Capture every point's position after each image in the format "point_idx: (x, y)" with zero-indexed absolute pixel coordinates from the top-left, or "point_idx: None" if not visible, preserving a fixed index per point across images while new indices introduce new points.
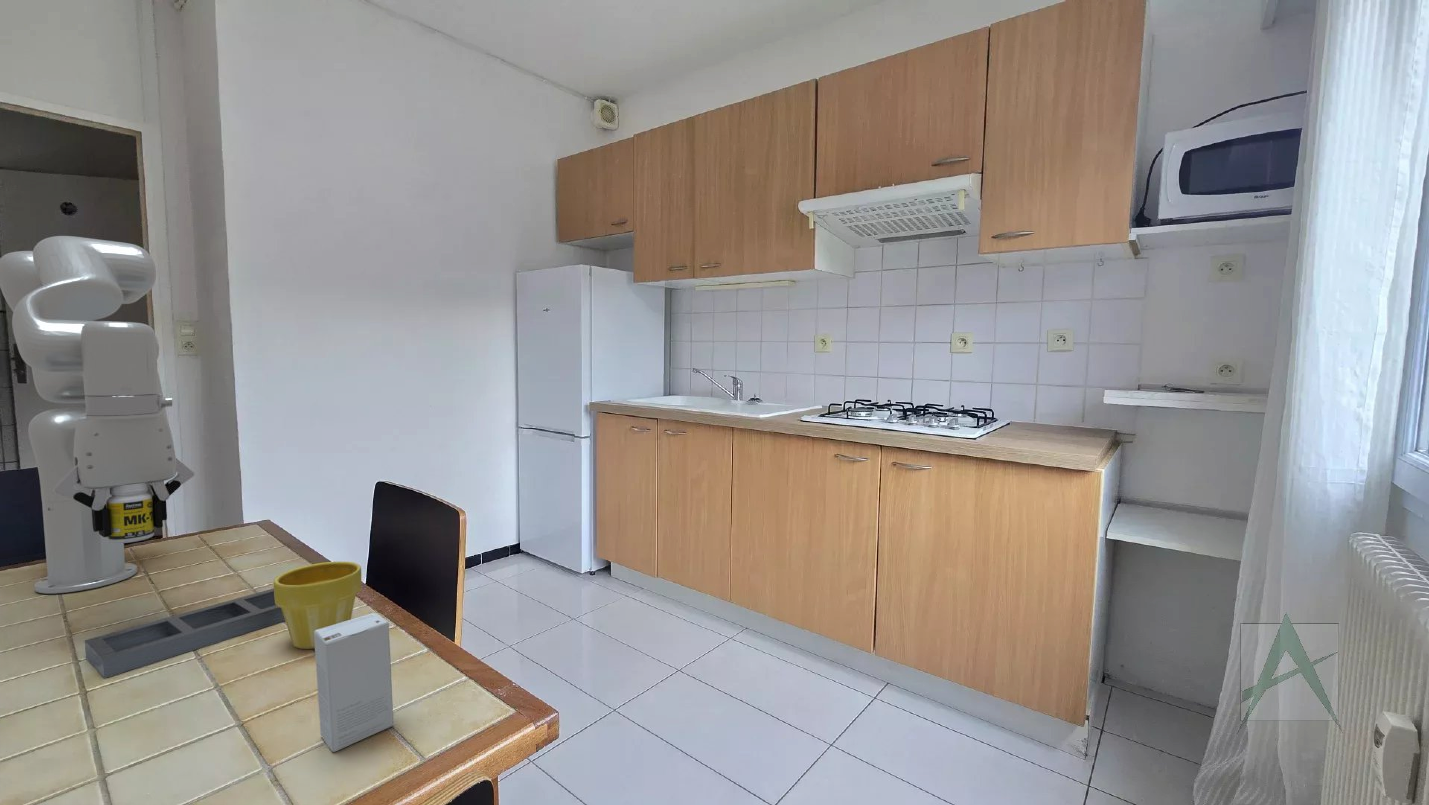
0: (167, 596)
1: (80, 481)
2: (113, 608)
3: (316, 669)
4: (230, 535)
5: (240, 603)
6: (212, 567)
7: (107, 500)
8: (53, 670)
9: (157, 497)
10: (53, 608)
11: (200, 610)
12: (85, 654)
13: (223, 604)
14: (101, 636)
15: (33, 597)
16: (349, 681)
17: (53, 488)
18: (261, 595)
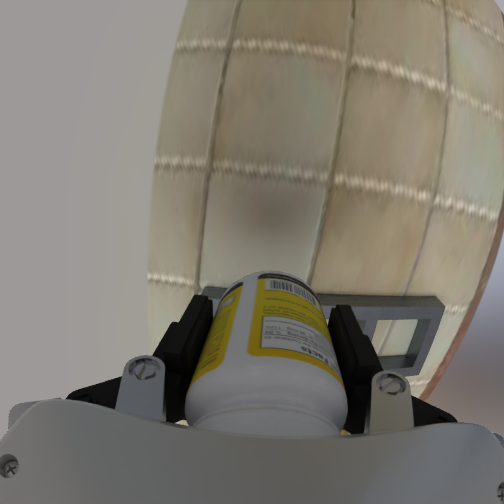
0: (351, 104)
1: (40, 401)
2: (280, 88)
3: None
4: None
5: (367, 331)
6: (429, 29)
7: (186, 416)
8: (177, 293)
9: (351, 427)
10: (225, 15)
11: (328, 314)
12: (204, 289)
13: (355, 316)
14: (215, 302)
15: None
16: None
17: (10, 413)
18: (398, 318)
